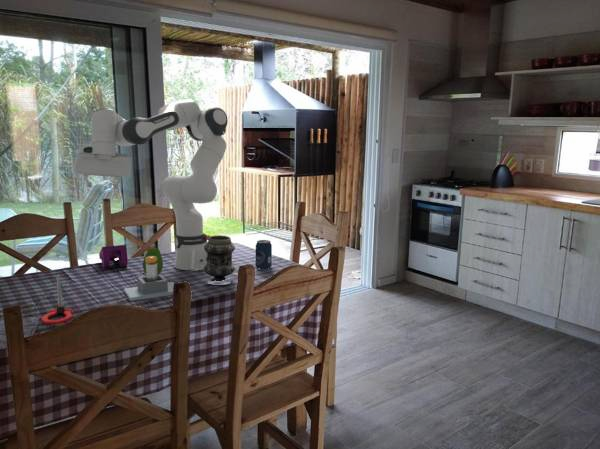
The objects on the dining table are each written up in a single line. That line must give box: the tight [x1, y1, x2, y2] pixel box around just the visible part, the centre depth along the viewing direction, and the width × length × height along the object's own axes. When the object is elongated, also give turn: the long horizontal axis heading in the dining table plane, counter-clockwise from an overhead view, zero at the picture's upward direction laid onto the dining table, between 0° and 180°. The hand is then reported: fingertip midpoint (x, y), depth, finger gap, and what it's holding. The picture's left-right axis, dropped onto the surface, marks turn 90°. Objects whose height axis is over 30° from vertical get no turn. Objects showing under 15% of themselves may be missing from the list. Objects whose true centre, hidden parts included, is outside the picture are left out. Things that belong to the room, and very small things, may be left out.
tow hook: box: [41, 274, 74, 325], centre depth 150 cm, size 8×13×9 cm
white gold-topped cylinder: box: [144, 256, 158, 282], centre depth 175 cm, size 4×4×12 cm
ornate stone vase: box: [203, 234, 236, 281], centre depth 189 cm, size 12×12×18 cm
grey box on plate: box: [123, 273, 175, 302], centre depth 176 cm, size 18×11×5 cm, turn 120°
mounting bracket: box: [98, 244, 129, 269], centre depth 212 cm, size 9×8×18 cm
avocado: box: [142, 246, 164, 275], centre depth 195 cm, size 8×8×12 cm
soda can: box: [254, 239, 273, 269], centre depth 210 cm, size 7×7×12 cm
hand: (102, 188), depth 183 cm, fingers open, 8 cm apart
